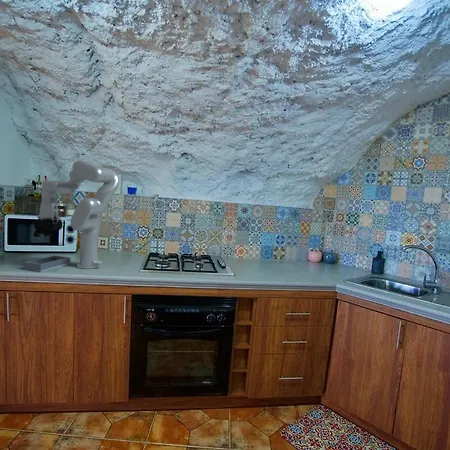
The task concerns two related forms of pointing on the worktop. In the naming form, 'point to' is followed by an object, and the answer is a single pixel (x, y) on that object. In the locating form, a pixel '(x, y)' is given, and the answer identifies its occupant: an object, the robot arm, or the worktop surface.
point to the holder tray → (46, 263)
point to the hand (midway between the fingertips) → (48, 229)
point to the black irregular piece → (45, 227)
